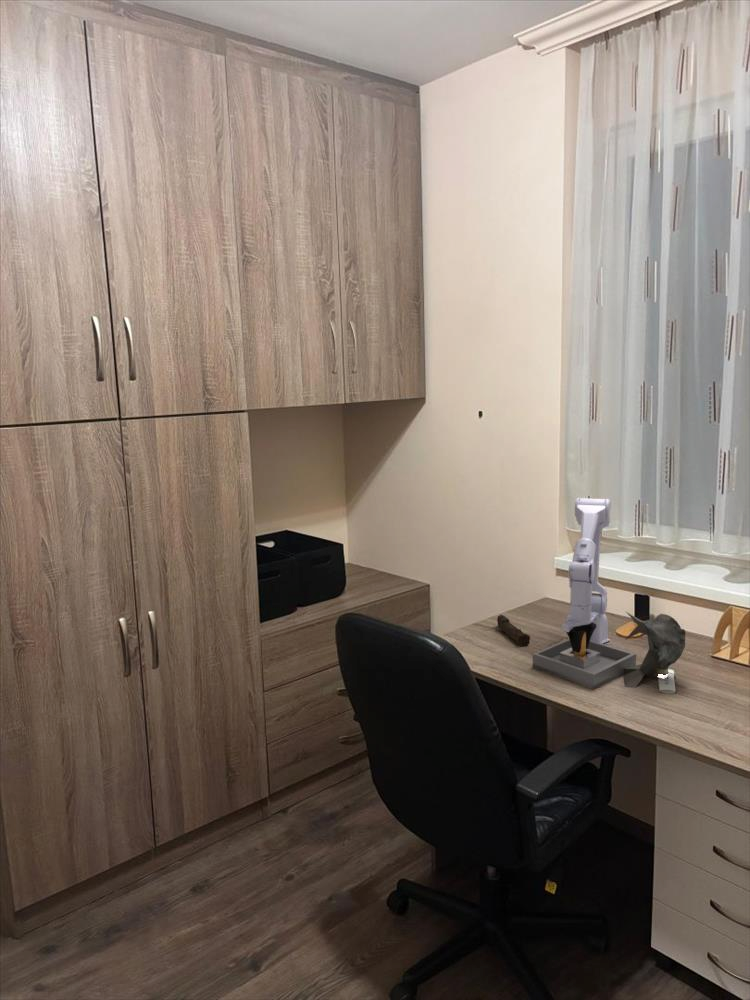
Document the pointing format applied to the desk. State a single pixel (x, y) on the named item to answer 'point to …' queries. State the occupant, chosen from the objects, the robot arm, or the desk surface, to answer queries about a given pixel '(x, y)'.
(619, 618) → the desk surface
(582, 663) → the inlet socket
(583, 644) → the orange wooden block
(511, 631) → the dark brown rod
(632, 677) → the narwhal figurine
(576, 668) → the walled box
